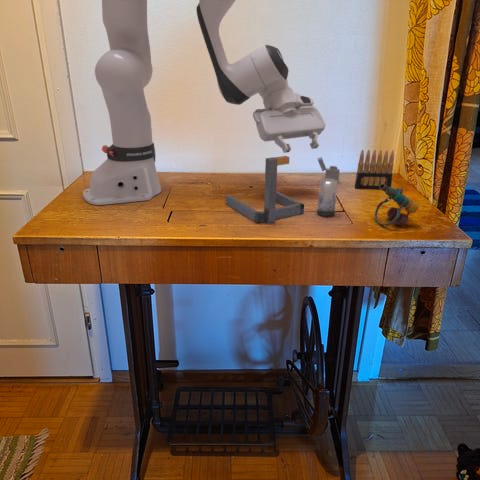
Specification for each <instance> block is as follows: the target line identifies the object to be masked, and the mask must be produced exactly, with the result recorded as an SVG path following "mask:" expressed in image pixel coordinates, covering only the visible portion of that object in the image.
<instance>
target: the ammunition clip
mask: <svg viewBox="0 0 480 480" xmlns="http://www.w3.org/2000/svg"><path fill="white" fill-rule="evenodd" d="M370 151H371V150H370V149H368V150H367V152H366V155H365V152H364V149H362V150H361V151H360V154H359V159H358V164H357V170H356V171H357V172H356V177H355V182H354V189H355V190H373V191H374V190H375V191H376V190H381V189H380V188H379V185H380V184H385V185H386V186H387V187H392V184H393V183H392V181H393V170H394V161H395V160H394V159H395V151H394V150H392V151H391V152H390V155H389V152H388V150H387V149H386V150H385V152H384V155H383V152H382V149H380V150H379V152H378V156H377V151H376V149H374V150H373V152H372V155H371V152H370ZM364 158H365V159H364ZM381 191H382V190H381Z"/></svg>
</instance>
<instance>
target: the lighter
mask: <svg viewBox="0 0 480 480" xmlns="http://www.w3.org/2000/svg"><path fill="white" fill-rule="evenodd" d="M317 161H318V163H319V167H320V169H321V171H322V172H323V171H325V177H324V179H325V178H330V179H335V180H337V181H338V182H339V181H340V180H339V179H340V171H341V170H340V169H339V168H338V167H337V166H335V165H329V167H328V168H327V167H326V164H325V163H324V160H323V157H322V156H320V157H318V158H317Z"/></svg>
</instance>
